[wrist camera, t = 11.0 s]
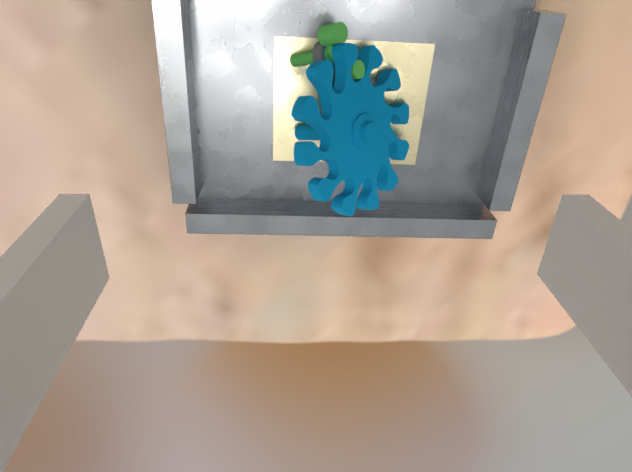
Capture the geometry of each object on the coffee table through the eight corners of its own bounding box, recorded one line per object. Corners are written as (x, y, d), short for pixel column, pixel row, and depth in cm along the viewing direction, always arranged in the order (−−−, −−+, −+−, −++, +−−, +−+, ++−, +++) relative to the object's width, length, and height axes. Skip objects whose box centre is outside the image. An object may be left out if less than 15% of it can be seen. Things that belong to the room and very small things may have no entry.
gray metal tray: (162, -57, 28) (145, -60, 24) (544, -33, 29) (579, -32, 26) (186, 206, 36) (176, 233, 33) (482, 213, 38) (502, 239, 34)
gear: (425, 185, 33) (329, 244, 26) (357, 180, 37) (260, 230, 31) (407, 9, 29) (288, 30, 22) (333, 25, 33) (215, 47, 26)
